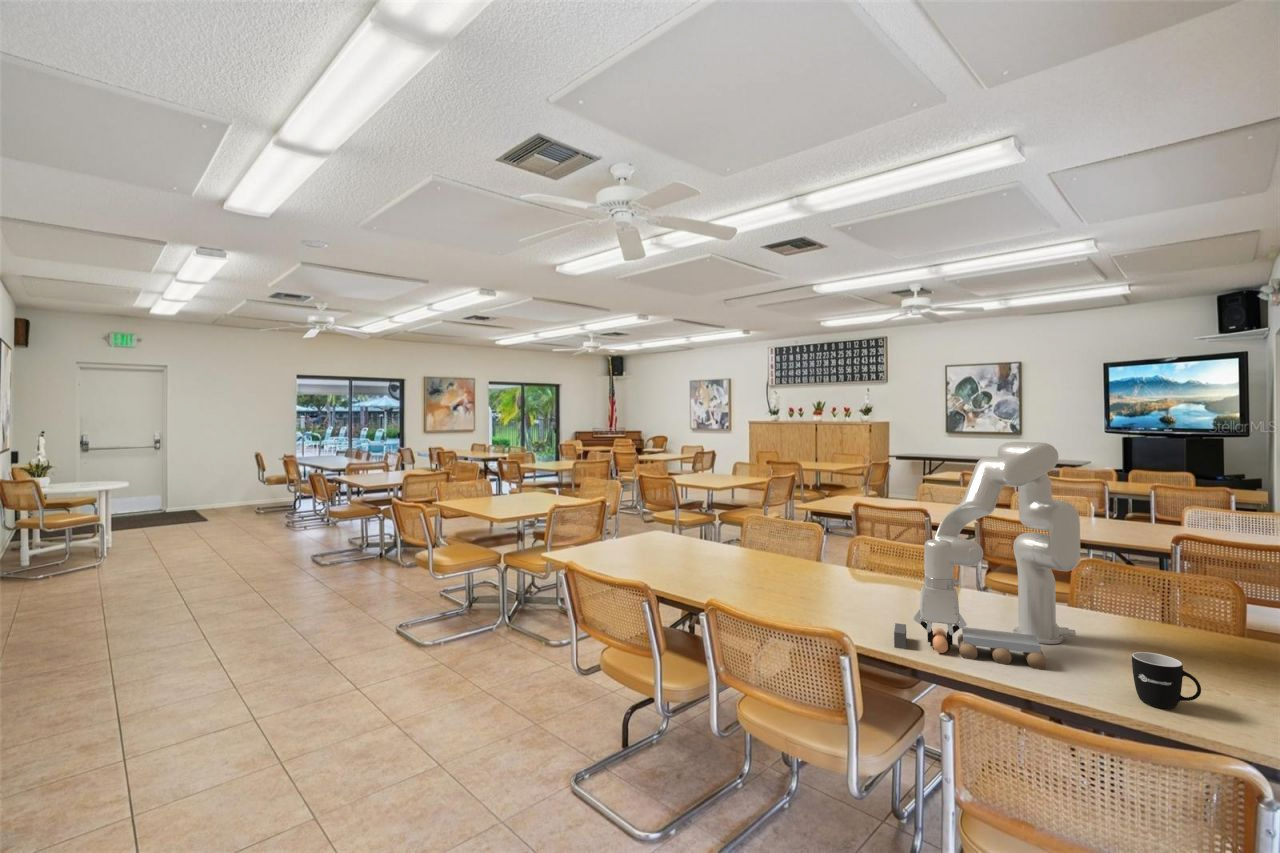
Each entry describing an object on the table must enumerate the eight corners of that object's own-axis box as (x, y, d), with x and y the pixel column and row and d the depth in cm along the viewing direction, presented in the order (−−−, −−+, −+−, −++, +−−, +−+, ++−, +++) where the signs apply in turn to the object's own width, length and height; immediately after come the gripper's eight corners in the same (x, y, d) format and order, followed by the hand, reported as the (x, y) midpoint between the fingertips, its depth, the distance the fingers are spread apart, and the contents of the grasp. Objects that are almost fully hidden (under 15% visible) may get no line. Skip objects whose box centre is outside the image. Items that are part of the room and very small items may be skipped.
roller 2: (957, 647, 174) (957, 632, 175) (975, 649, 173) (974, 633, 173) (959, 659, 165) (959, 643, 166) (977, 661, 164) (977, 645, 164)
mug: (1128, 702, 139) (1128, 658, 139) (1136, 690, 145) (1135, 649, 145) (1199, 720, 130) (1198, 674, 130) (1204, 707, 136) (1203, 663, 136)
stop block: (906, 640, 180) (906, 624, 180) (905, 650, 172) (905, 633, 172) (895, 639, 181) (895, 623, 181) (894, 649, 173) (894, 632, 173)
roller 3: (1022, 655, 168) (1021, 640, 168) (1040, 657, 166) (1039, 641, 166) (1027, 668, 159) (1026, 652, 159) (1047, 670, 157) (1046, 654, 157)
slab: (1034, 643, 166) (1034, 635, 166) (1040, 654, 158) (1040, 645, 158) (961, 634, 174) (961, 626, 174) (963, 644, 166) (963, 636, 166)
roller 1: (932, 640, 177) (931, 628, 178) (947, 641, 176) (946, 628, 176) (933, 652, 168) (932, 638, 168) (948, 653, 167) (947, 639, 167)
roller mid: (989, 651, 171) (988, 636, 171) (1007, 653, 169) (1006, 637, 169) (993, 663, 162) (992, 647, 162) (1011, 665, 160) (1011, 649, 160)
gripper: (970, 582, 172) (971, 646, 172) (907, 577, 179) (908, 638, 179) (972, 589, 165) (973, 654, 165) (907, 583, 172) (908, 646, 172)
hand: (939, 645), depth 172 cm, fingers closed on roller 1, 3 cm apart
